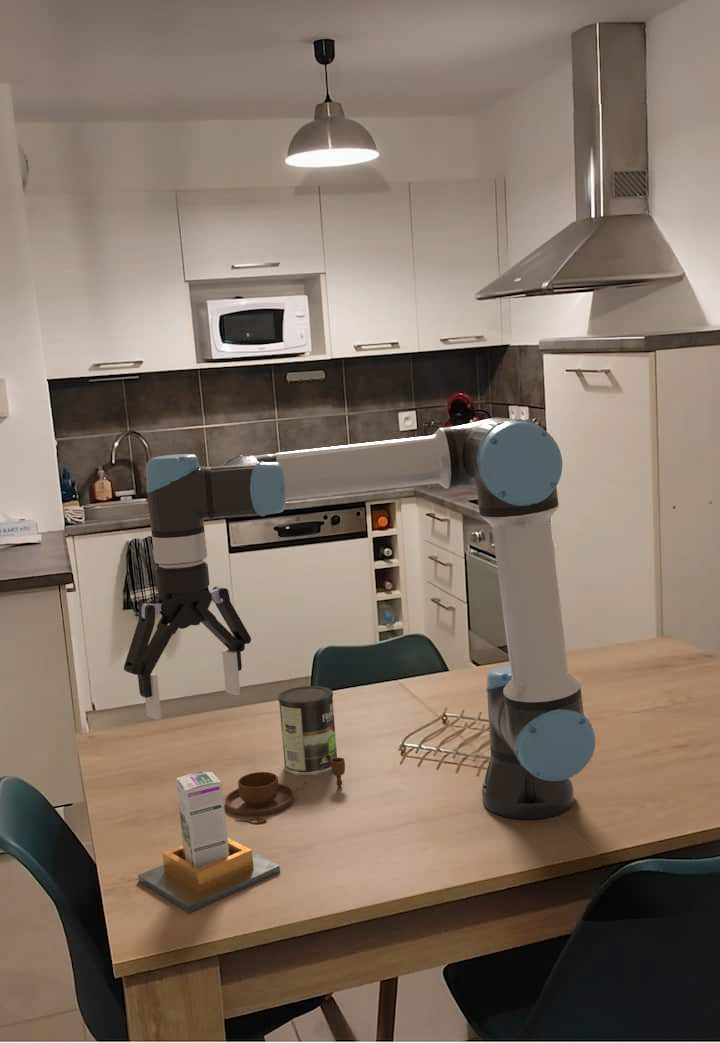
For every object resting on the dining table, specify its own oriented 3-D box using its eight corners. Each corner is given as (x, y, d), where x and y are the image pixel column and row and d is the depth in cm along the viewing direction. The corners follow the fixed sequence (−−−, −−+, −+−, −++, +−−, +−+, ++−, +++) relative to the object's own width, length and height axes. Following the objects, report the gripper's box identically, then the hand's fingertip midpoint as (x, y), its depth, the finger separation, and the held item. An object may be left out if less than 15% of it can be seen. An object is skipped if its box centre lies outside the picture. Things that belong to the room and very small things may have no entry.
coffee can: (343, 755, 205) (338, 685, 203) (331, 776, 195) (325, 702, 193) (291, 755, 207) (286, 685, 205) (277, 775, 198) (271, 702, 195)
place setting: (244, 784, 196) (242, 753, 195) (350, 787, 191) (347, 756, 190) (210, 825, 179) (207, 792, 178) (325, 830, 174) (322, 796, 174)
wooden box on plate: (280, 871, 160) (278, 846, 159) (189, 913, 149) (186, 886, 149) (227, 844, 170) (225, 820, 169) (138, 881, 160) (136, 856, 159)
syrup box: (232, 873, 158) (223, 780, 156) (193, 883, 156) (184, 789, 154) (221, 858, 163) (212, 768, 161) (183, 867, 161) (174, 776, 159)
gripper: (237, 546, 164) (249, 679, 167) (89, 575, 148) (105, 722, 151) (266, 550, 158) (278, 688, 161) (116, 581, 142) (132, 734, 145)
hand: (194, 705), depth 156 cm, fingers open, 13 cm apart
